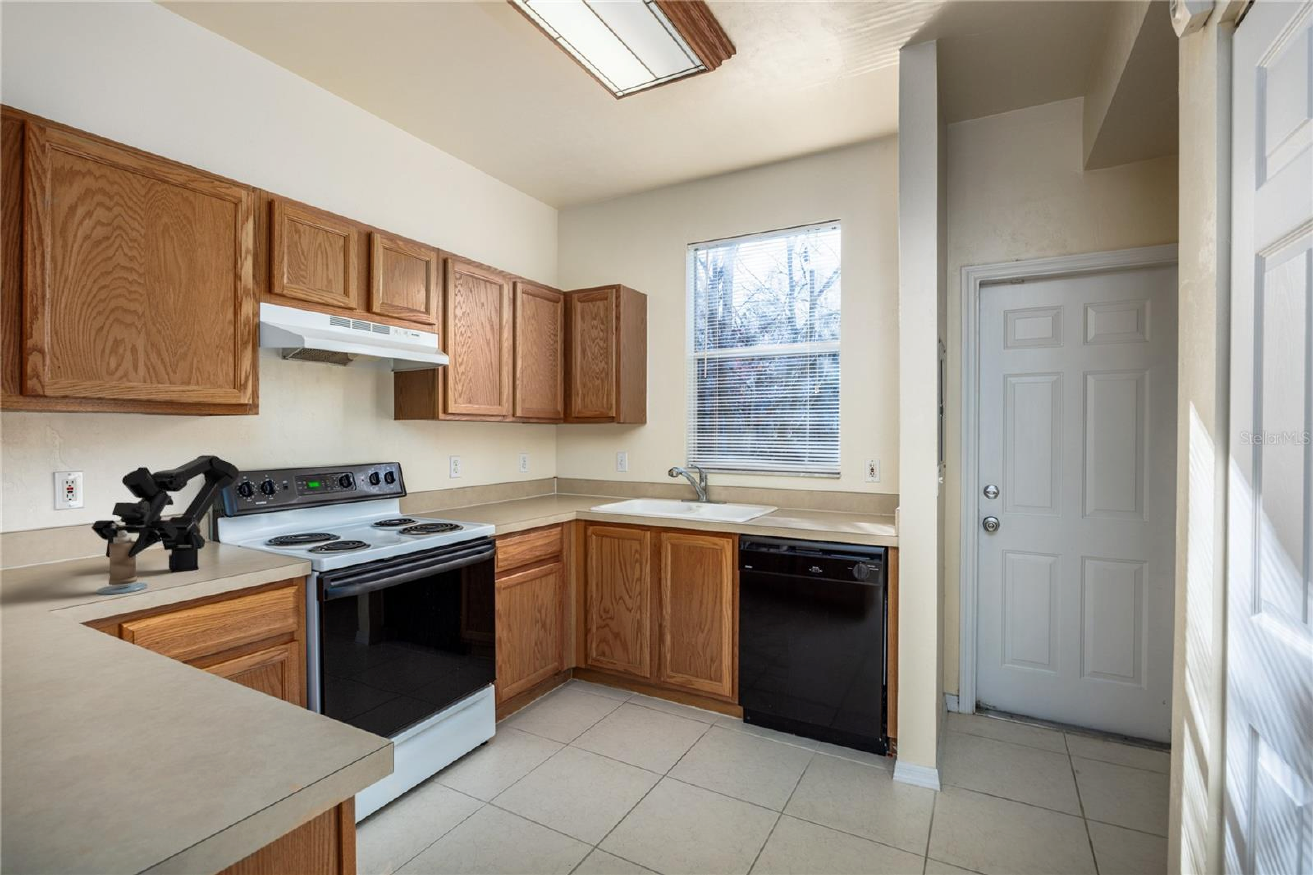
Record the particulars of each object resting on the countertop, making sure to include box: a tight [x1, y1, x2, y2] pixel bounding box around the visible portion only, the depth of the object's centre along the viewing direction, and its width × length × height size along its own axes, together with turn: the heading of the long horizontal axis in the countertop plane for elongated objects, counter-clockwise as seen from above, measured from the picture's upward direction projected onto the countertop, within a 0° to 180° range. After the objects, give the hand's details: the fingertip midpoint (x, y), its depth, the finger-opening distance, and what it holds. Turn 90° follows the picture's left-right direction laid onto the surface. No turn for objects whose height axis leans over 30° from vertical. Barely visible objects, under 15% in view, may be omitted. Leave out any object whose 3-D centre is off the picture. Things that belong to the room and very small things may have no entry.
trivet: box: [96, 582, 148, 596], centre depth 163 cm, size 10×10×1 cm
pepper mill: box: [108, 530, 138, 586], centre depth 163 cm, size 6×6×14 cm
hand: (118, 556), depth 161 cm, fingers closed on pepper mill, 5 cm apart
